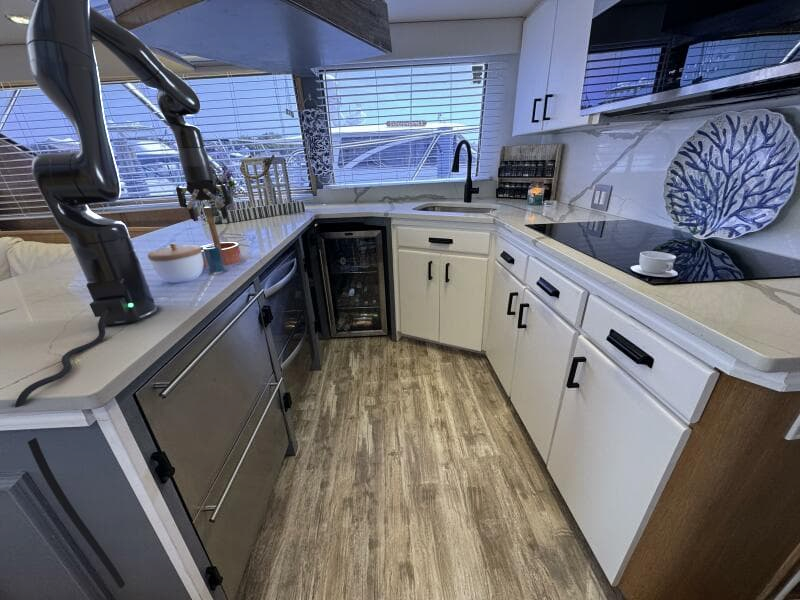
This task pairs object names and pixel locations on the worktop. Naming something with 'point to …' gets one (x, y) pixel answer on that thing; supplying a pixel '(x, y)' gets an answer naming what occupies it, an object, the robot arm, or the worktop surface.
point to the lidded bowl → (177, 263)
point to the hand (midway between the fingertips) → (210, 219)
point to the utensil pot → (213, 258)
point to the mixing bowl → (226, 253)
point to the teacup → (655, 264)
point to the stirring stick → (212, 226)
